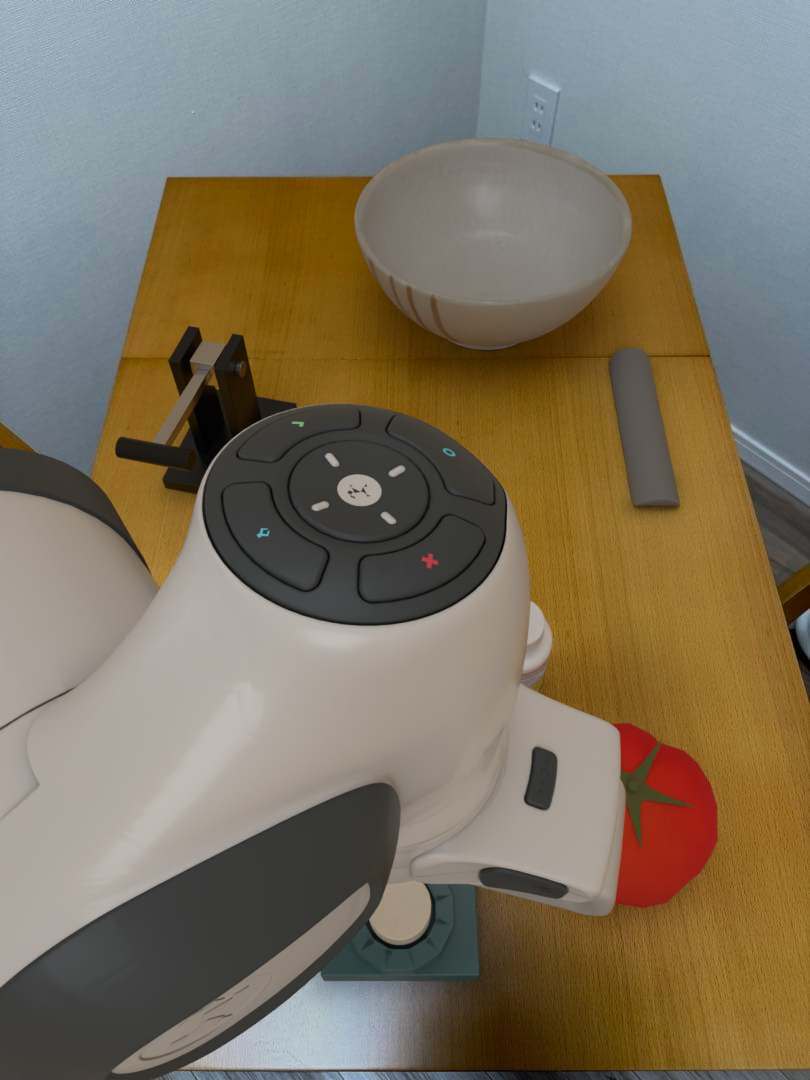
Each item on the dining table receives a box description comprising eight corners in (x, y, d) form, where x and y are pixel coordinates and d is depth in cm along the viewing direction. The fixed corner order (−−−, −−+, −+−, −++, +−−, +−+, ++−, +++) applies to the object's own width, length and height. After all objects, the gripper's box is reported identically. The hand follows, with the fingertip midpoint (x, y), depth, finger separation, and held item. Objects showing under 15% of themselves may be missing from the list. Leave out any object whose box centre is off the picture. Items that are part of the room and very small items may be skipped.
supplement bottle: (456, 671, 68) (461, 605, 60) (516, 641, 69) (529, 573, 61) (492, 729, 65) (503, 669, 57) (554, 697, 67) (573, 634, 58)
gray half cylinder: (649, 360, 88) (653, 347, 86) (681, 512, 77) (686, 500, 75) (607, 360, 88) (610, 347, 87) (633, 512, 77) (637, 500, 75)
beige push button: (367, 945, 53) (366, 940, 52) (369, 878, 56) (367, 871, 54) (431, 945, 53) (431, 940, 52) (430, 878, 56) (430, 871, 54)
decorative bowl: (349, 396, 86) (339, 299, 76) (372, 233, 101) (366, 134, 91) (620, 405, 84) (646, 307, 74) (601, 238, 100) (620, 138, 90)
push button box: (323, 981, 55) (317, 971, 52) (329, 869, 59) (323, 853, 56) (477, 980, 55) (481, 970, 52) (473, 868, 59) (476, 852, 56)
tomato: (678, 756, 64) (718, 697, 55) (710, 921, 57) (761, 883, 49) (518, 757, 64) (532, 699, 55) (531, 922, 57) (550, 885, 49)
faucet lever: (190, 479, 66) (184, 457, 64) (119, 465, 67) (111, 443, 65) (251, 369, 74) (247, 347, 72) (187, 358, 75) (181, 336, 73)
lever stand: (256, 506, 78) (230, 407, 67) (164, 488, 79) (125, 388, 69) (298, 412, 85) (280, 309, 74) (213, 397, 86) (184, 293, 75)
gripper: (93, 765, 32) (179, 863, 43) (647, 908, 29) (583, 973, 40) (162, 622, 35) (225, 747, 47) (662, 735, 32) (600, 840, 44)
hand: (393, 852), depth 43 cm, fingers closed
